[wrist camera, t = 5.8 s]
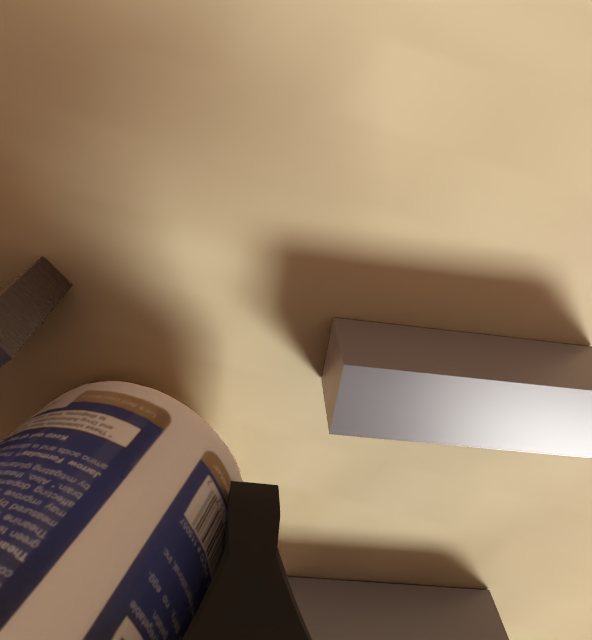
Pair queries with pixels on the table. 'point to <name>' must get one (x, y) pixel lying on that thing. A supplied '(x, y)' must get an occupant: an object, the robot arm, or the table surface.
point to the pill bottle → (110, 516)
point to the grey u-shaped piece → (448, 429)
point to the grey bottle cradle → (28, 305)
